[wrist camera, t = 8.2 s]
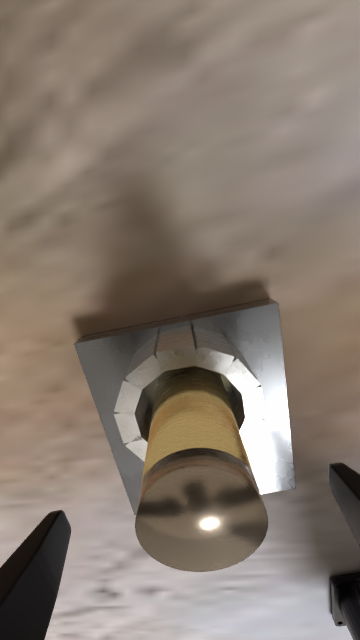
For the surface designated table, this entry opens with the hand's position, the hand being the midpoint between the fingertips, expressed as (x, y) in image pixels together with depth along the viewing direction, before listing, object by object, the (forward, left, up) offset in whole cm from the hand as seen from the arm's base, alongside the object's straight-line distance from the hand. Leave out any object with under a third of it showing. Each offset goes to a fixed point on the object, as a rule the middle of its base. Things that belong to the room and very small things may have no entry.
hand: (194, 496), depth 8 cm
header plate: (-3, 0, -8) cm, 9 cm away
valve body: (0, 0, -7) cm, 7 cm away
